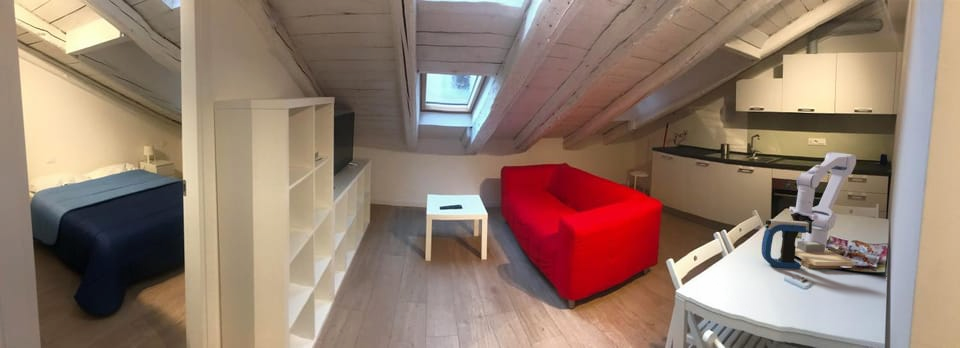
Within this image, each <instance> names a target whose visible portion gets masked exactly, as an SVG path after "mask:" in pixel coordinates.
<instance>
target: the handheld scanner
mask: <svg viewBox="0 0 960 348" xmlns="http://www.w3.org/2000/svg"><path fill="white" fill-rule="evenodd" d="M764 226H765V227H764V228H765V229H764V233H763V237H762V241H761V255H762V257H763V259H764V260H765V261H766V262H767V263H768V264H769V265H770V266H772V267H774V268H778V269H792V270H800V269H801V267H802V265H801V262H799V261H797V260H795V257H796V256H795V248H796V247H795V245H796V240H797V238H798V237H797V235H798V233H799V232H805V231H806V232H808V233H809V234H812V223H811V222H809V221H808V220H805V222H802V221H790V220H785V219H773V218H772V219H771V218H770V219H767V220H766V221H765V225H764ZM777 232H781V238H782V241H781V245H782V247H781V246H780V251H781V253H780V257H779V258H773V257H772V255H771V254H772V246H773V245H772V244H773V239H774V236H775V235H776V234H777Z"/></svg>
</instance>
